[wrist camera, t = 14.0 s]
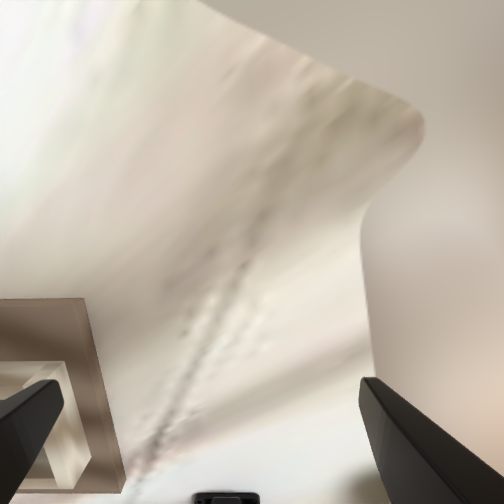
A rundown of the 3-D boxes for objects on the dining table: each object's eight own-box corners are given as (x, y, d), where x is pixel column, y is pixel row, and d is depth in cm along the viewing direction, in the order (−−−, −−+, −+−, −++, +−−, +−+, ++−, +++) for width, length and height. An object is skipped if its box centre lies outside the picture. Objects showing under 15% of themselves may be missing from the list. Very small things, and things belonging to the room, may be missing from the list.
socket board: (126, 479, 26) (106, 527, 23) (-12, 479, 27) (-52, 526, 23) (83, 298, 20) (47, 325, 17) (-93, 300, 21) (-165, 327, 17)
